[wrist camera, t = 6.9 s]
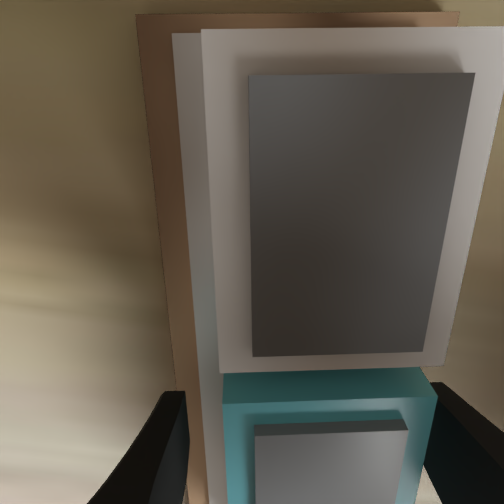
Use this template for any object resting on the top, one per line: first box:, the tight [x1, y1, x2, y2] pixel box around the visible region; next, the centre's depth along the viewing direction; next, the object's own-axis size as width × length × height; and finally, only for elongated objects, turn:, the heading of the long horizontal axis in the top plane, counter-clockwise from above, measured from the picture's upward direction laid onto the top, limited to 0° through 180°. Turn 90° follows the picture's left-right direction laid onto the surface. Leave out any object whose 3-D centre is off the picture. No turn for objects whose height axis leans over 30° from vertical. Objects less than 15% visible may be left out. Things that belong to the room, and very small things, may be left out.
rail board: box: [135, 12, 504, 504], centre depth 13 cm, size 9×22×8 cm, turn 1°
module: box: [222, 367, 438, 504], centre depth 12 cm, size 4×6×6 cm
